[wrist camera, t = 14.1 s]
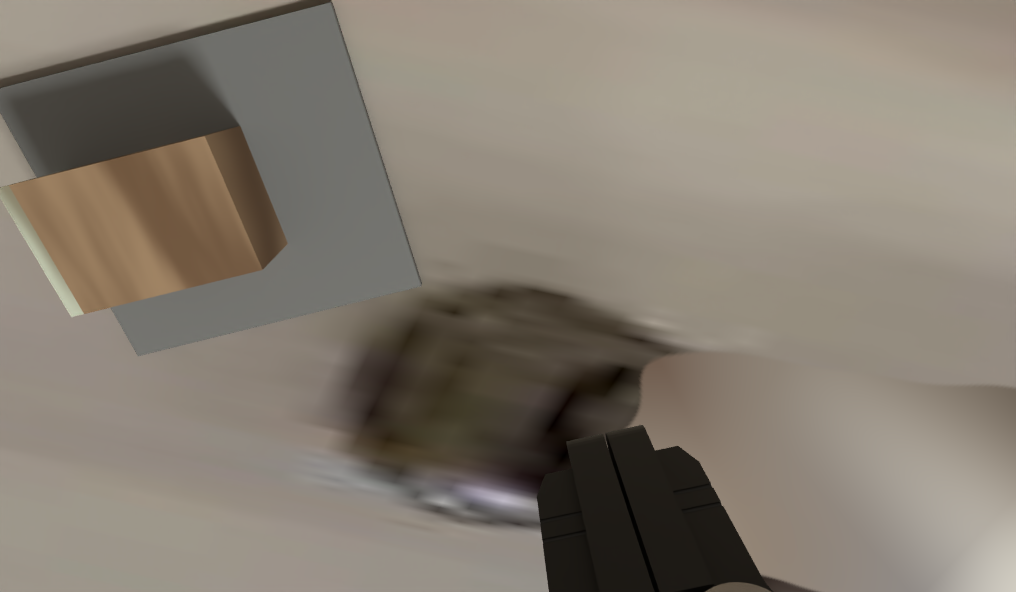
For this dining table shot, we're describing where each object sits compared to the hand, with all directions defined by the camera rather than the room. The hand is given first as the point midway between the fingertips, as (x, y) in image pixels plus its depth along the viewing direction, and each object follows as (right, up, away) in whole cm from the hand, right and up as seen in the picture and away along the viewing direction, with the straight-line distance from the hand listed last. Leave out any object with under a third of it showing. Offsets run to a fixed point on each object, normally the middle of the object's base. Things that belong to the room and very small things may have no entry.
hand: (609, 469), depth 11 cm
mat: (-16, +8, +17) cm, 25 cm away
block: (-14, +8, +15) cm, 22 cm away
